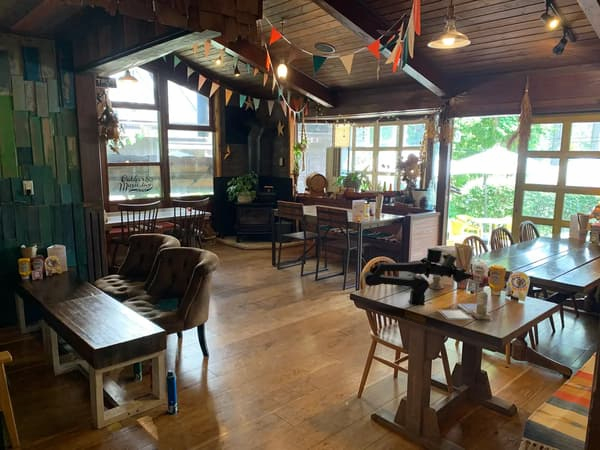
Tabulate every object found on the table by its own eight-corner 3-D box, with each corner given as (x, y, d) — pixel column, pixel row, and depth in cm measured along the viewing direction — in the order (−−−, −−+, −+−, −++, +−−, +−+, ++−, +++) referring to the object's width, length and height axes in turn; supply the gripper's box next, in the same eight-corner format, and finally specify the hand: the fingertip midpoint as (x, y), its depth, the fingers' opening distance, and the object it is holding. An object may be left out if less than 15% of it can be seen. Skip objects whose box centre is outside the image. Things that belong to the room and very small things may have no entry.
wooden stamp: (477, 320, 202) (480, 293, 200) (471, 315, 208) (473, 289, 206) (490, 320, 203) (492, 293, 201) (483, 315, 209) (486, 289, 207)
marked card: (447, 319, 202) (447, 318, 202) (437, 310, 214) (437, 309, 214) (472, 319, 203) (472, 318, 203) (460, 310, 215) (460, 309, 215)
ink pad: (467, 313, 210) (467, 310, 210) (458, 306, 220) (458, 303, 220) (487, 313, 211) (487, 310, 211) (477, 306, 221) (477, 303, 221)
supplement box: (406, 288, 247) (407, 266, 245) (397, 284, 254) (399, 263, 252) (416, 286, 251) (417, 265, 249) (407, 283, 257) (409, 262, 255)
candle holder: (425, 285, 255) (428, 250, 251) (440, 284, 256) (442, 250, 252) (431, 289, 246) (434, 254, 243) (446, 289, 247) (449, 254, 244)
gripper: (447, 258, 209) (479, 262, 209) (435, 249, 227) (465, 253, 228) (443, 280, 211) (475, 284, 211) (431, 270, 229) (461, 274, 230)
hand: (469, 273), depth 220 cm, fingers open, 9 cm apart
